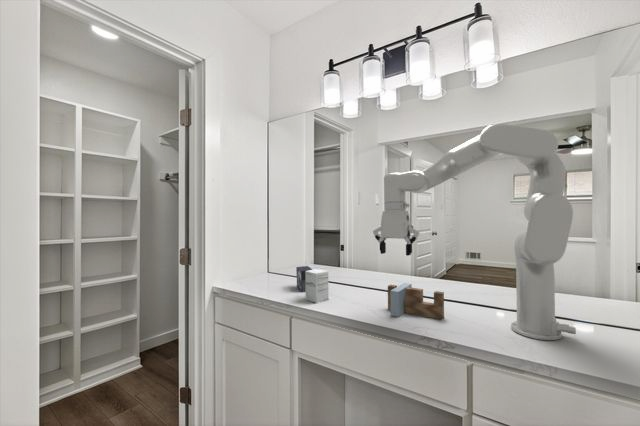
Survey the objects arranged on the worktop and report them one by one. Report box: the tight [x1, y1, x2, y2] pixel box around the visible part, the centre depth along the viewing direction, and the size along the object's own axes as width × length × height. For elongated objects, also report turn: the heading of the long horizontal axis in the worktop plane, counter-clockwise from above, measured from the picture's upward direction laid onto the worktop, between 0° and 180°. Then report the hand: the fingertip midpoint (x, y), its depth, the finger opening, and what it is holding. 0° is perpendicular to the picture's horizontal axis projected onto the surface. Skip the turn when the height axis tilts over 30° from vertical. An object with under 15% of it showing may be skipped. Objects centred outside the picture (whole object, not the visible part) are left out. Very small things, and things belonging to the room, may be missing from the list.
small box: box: [295, 265, 314, 293], centre depth 145 cm, size 11×6×10 cm, turn 18°
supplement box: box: [305, 268, 329, 304], centre depth 127 cm, size 7×7×13 cm
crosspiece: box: [390, 282, 413, 318], centre depth 111 cm, size 3×14×9 cm, turn 144°
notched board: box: [387, 284, 445, 321], centre depth 109 cm, size 20×2×9 cm, turn 53°
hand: (395, 254), depth 107 cm, fingers open, 9 cm apart
